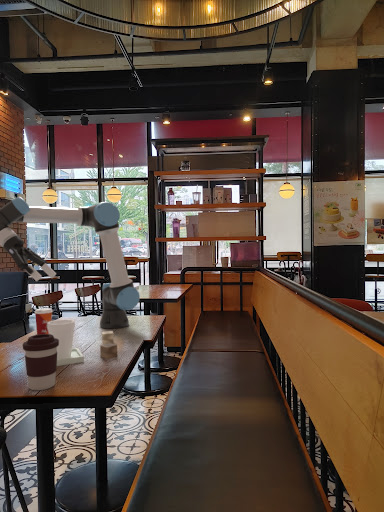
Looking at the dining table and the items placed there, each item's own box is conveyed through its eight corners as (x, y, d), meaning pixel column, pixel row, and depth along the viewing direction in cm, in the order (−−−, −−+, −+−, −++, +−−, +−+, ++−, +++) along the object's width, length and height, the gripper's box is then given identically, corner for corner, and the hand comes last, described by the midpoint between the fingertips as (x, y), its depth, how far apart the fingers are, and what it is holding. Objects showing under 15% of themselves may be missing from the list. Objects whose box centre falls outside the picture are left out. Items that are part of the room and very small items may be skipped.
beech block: (112, 341, 158) (112, 331, 158) (113, 343, 154) (113, 333, 154) (102, 342, 157) (102, 331, 157) (102, 344, 152) (102, 334, 152)
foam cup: (49, 362, 125) (48, 325, 125) (47, 355, 133) (46, 321, 133) (77, 358, 129) (76, 322, 129) (73, 351, 137) (72, 318, 137)
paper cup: (46, 342, 157) (46, 310, 157) (31, 341, 159) (30, 310, 159) (56, 338, 165) (56, 307, 165) (42, 337, 166) (41, 307, 166)
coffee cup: (54, 392, 101) (52, 339, 101) (18, 393, 101) (16, 341, 100) (63, 379, 111) (62, 331, 111) (31, 380, 110) (30, 333, 110)
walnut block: (110, 354, 138) (110, 343, 137) (117, 356, 134) (117, 345, 134) (100, 357, 134) (100, 345, 134) (107, 359, 131) (106, 347, 131)
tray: (77, 352, 140) (77, 347, 140) (83, 361, 129) (83, 356, 129) (41, 358, 134) (41, 352, 134) (45, 367, 123) (45, 362, 123)
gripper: (19, 247, 158) (53, 281, 158) (-15, 247, 133) (25, 287, 133) (31, 235, 158) (65, 269, 158) (-2, 233, 133) (38, 272, 133)
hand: (47, 277), depth 145 cm, fingers open, 13 cm apart
